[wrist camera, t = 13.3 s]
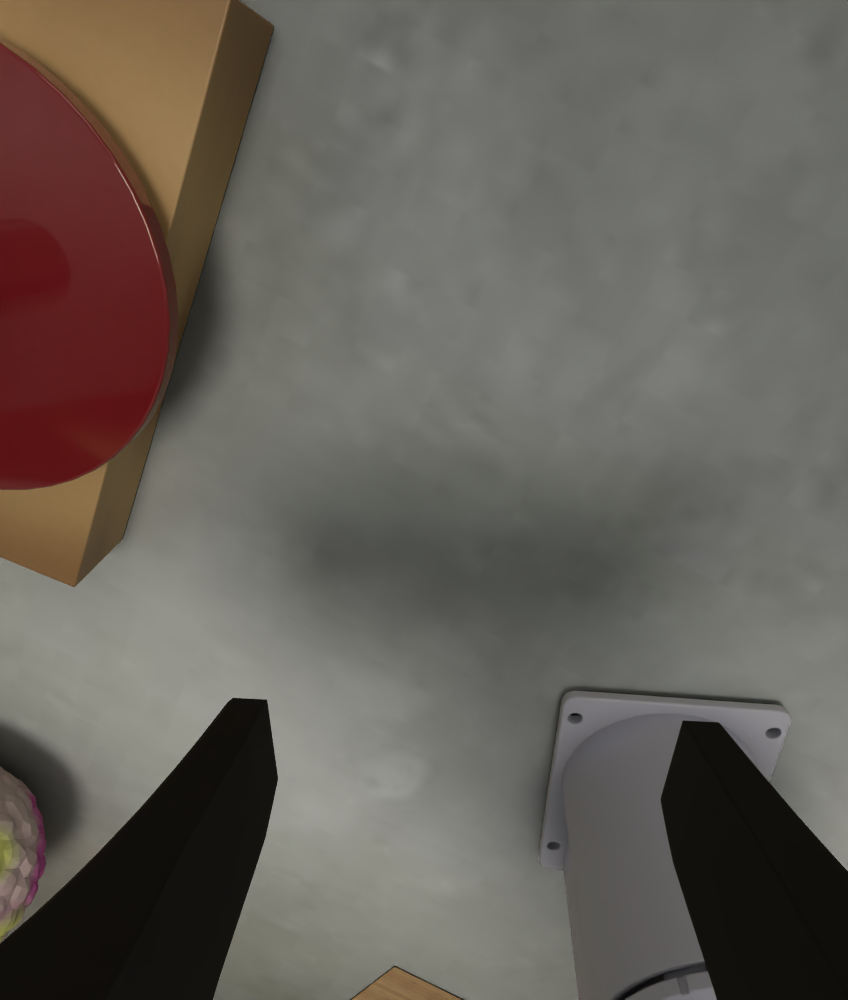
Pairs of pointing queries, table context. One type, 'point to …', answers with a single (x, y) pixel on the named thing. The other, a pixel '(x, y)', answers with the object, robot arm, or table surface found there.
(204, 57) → the wooden block
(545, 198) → the table surface
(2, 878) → the decorative item
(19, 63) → the lid
